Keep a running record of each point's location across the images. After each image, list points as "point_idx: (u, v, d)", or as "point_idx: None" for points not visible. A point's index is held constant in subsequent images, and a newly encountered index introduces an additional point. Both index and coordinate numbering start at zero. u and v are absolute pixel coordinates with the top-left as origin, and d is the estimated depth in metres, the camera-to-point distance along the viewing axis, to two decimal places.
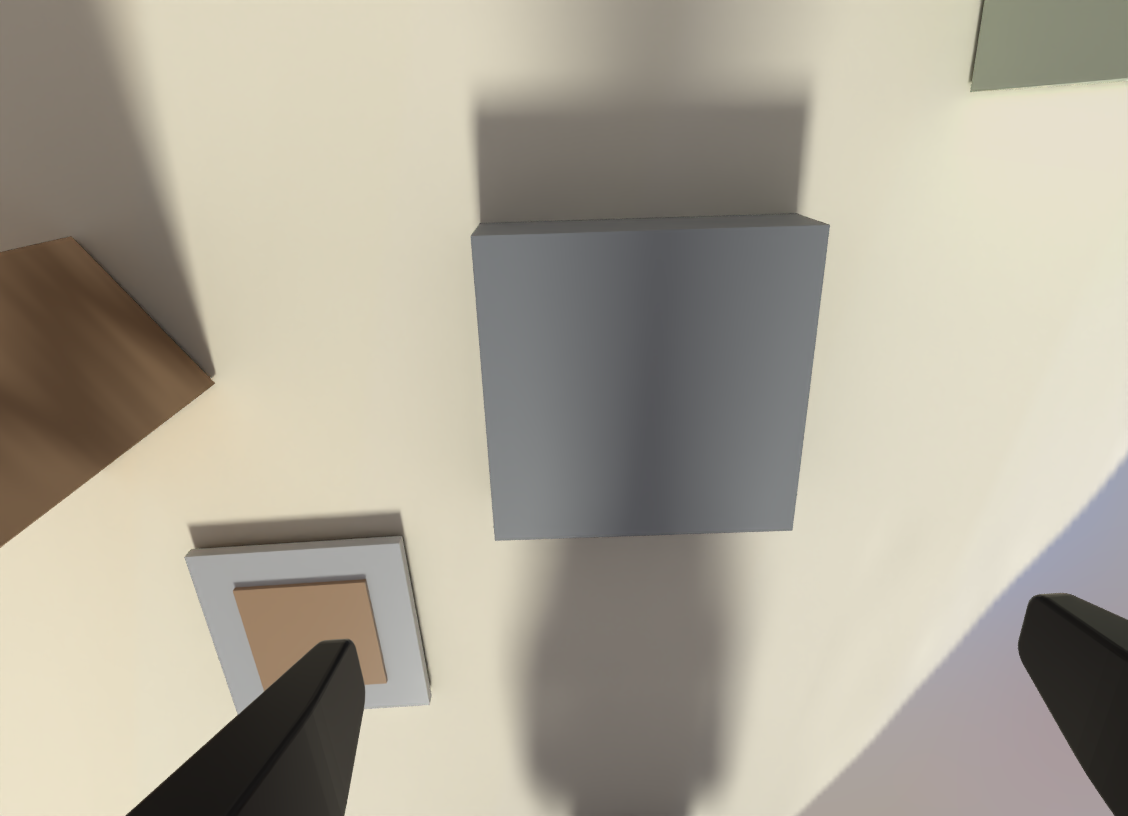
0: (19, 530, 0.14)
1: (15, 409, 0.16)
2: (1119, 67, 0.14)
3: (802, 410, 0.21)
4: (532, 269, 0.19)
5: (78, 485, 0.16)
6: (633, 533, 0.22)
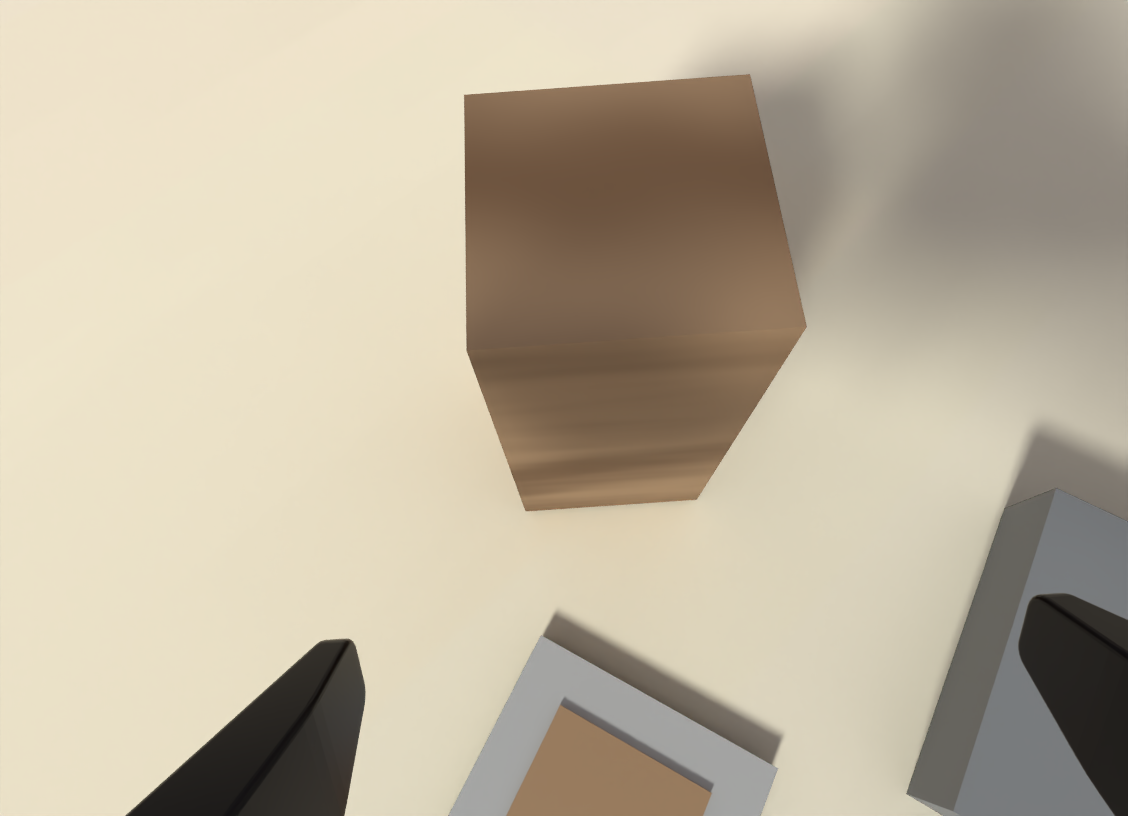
0: (759, 399, 0.15)
1: None
2: None
3: None
4: (1104, 542, 0.20)
5: (740, 429, 0.17)
6: None
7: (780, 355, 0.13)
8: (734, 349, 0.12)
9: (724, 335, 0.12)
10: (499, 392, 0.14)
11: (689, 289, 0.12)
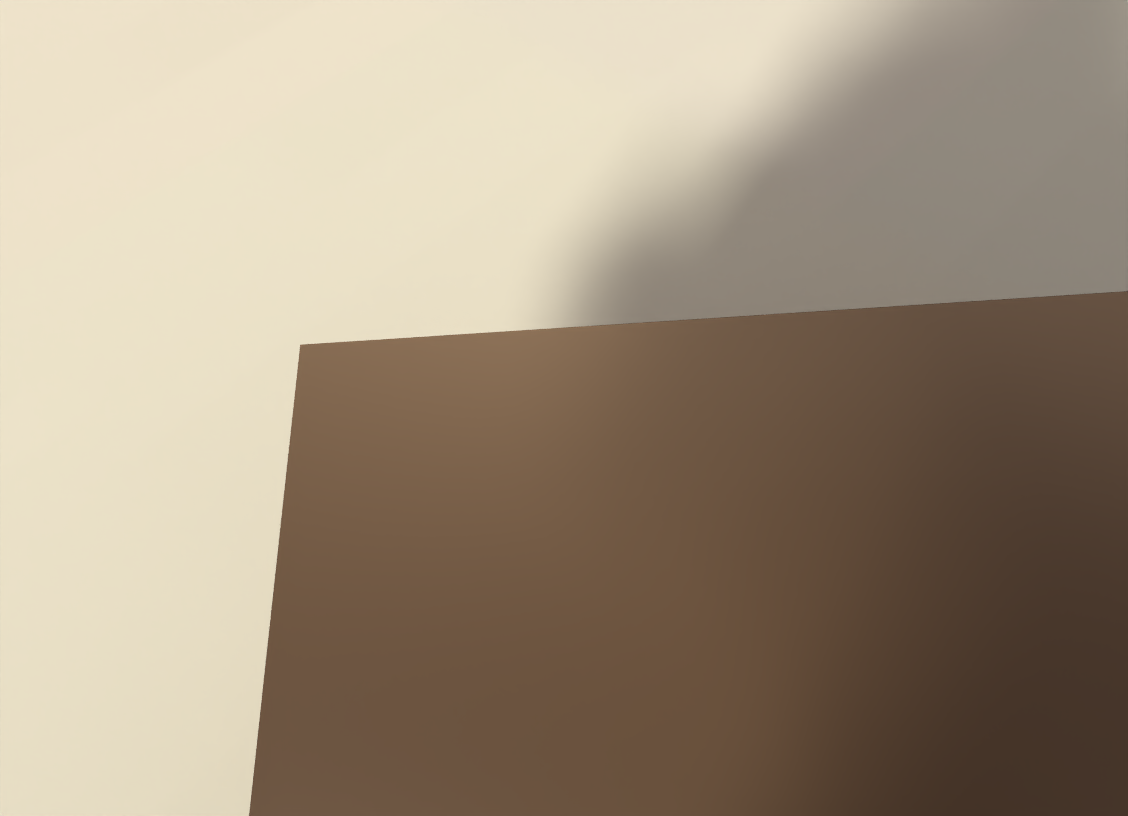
0: None
1: None
2: None
3: None
4: None
5: None
6: None
7: None
8: None
9: None
10: None
11: None
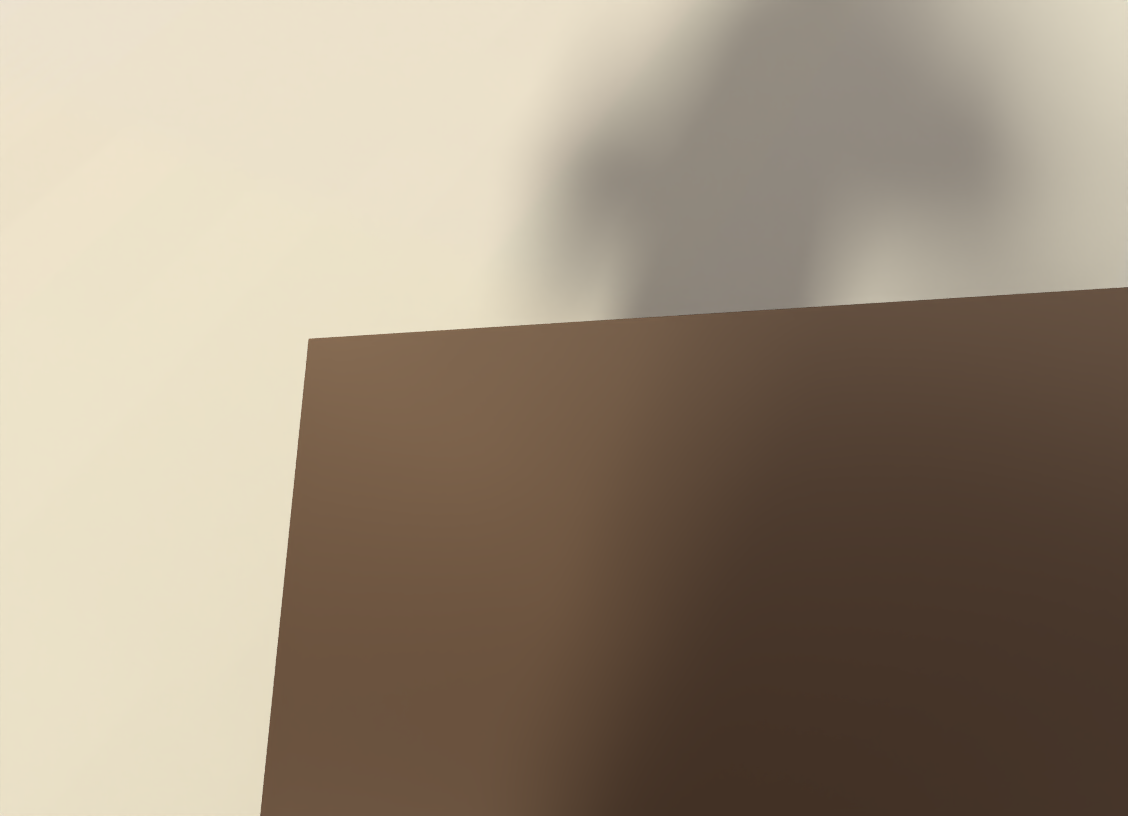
0: None
1: None
2: None
3: None
4: None
5: None
6: None
7: None
8: None
9: None
10: None
11: None
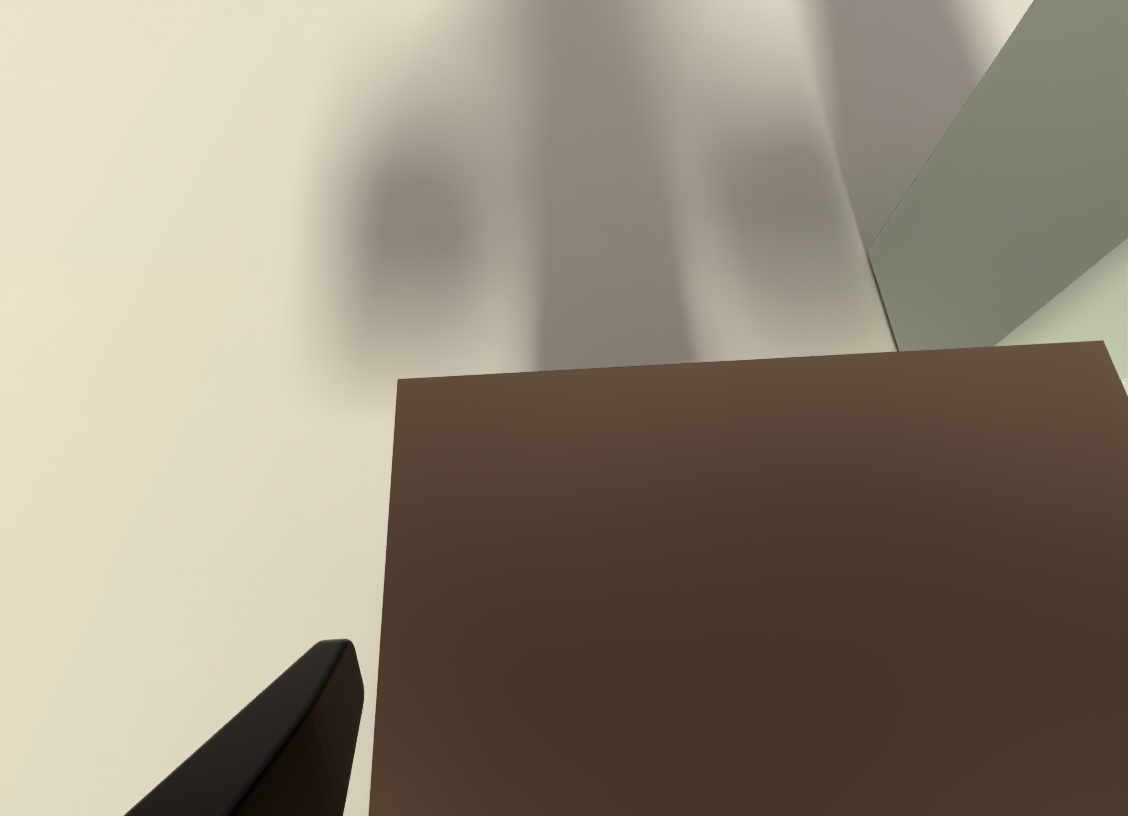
0: None
1: None
2: (1018, 314, 0.16)
3: None
4: None
5: None
6: None
7: None
8: None
9: None
10: None
11: None
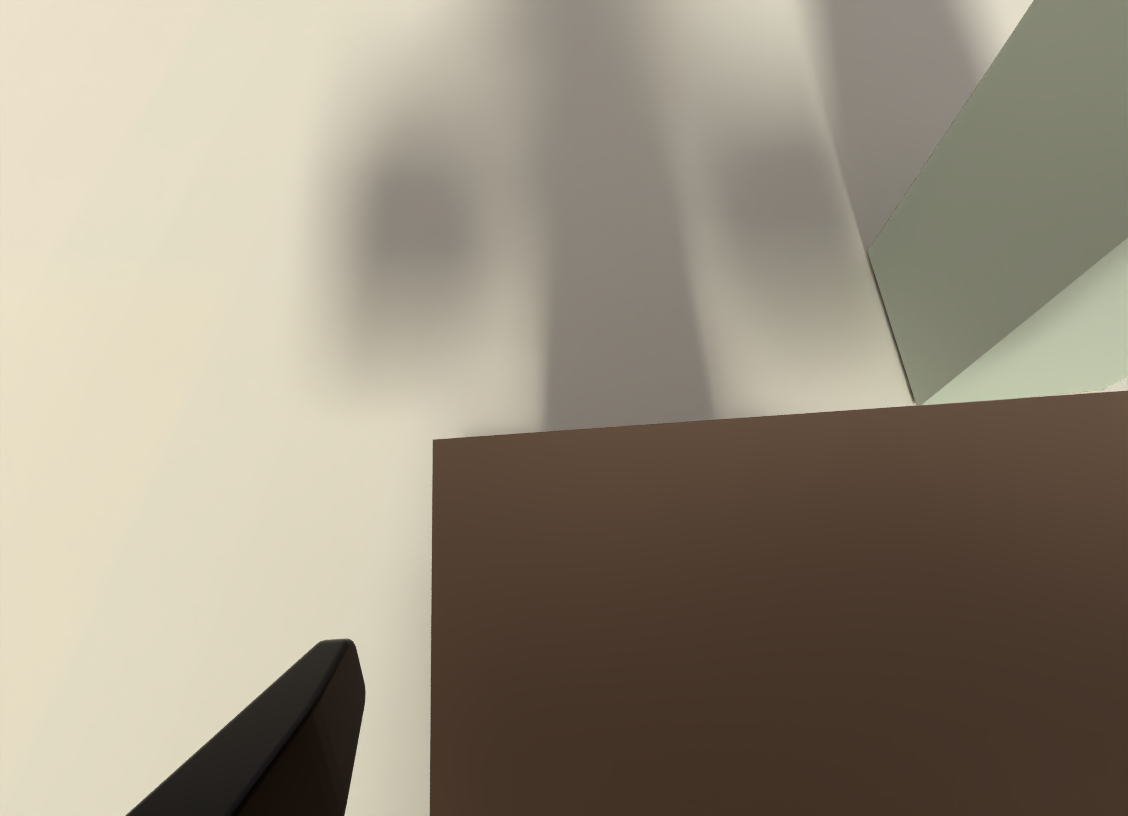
0: None
1: None
2: (1018, 314, 0.16)
3: None
4: None
5: None
6: None
7: None
8: None
9: None
10: None
11: None
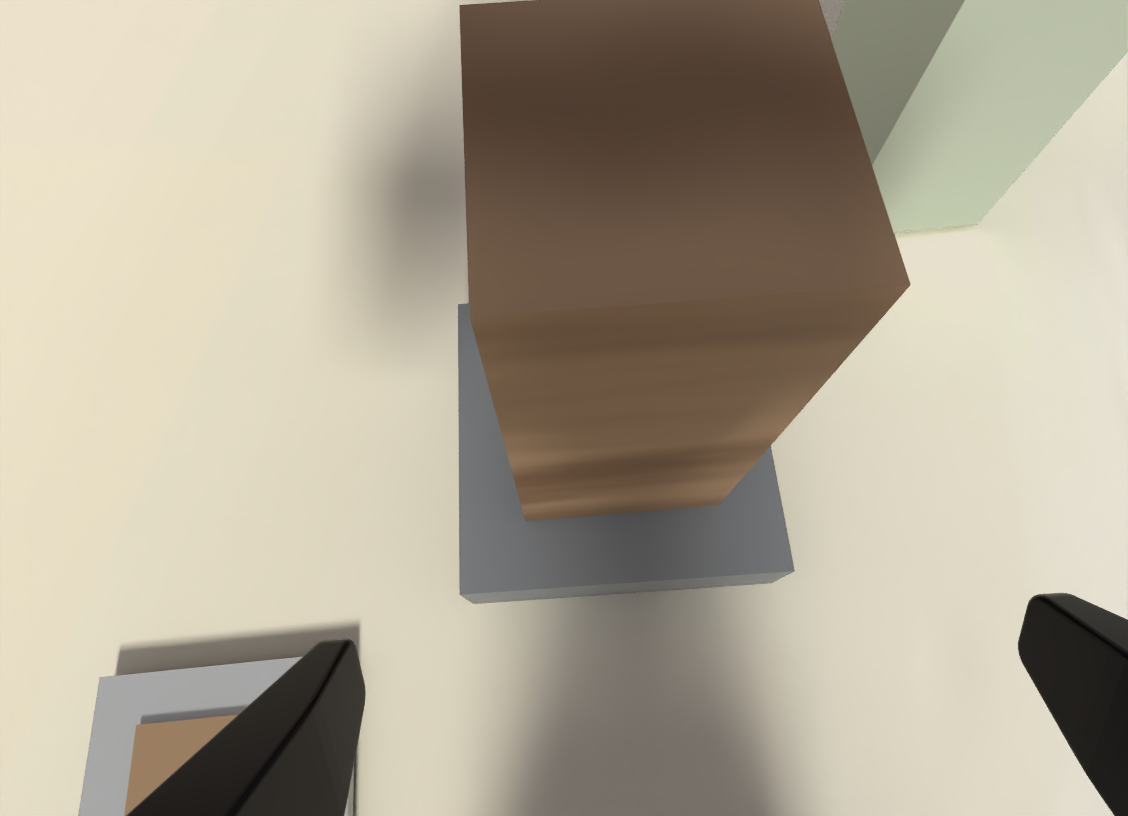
0: (821, 385, 0.12)
1: None
2: (885, 132, 0.22)
3: None
4: None
5: (788, 423, 0.14)
6: (614, 579, 0.20)
7: (865, 325, 0.10)
8: (812, 317, 0.10)
9: (804, 297, 0.09)
10: (507, 376, 0.11)
11: (756, 240, 0.09)
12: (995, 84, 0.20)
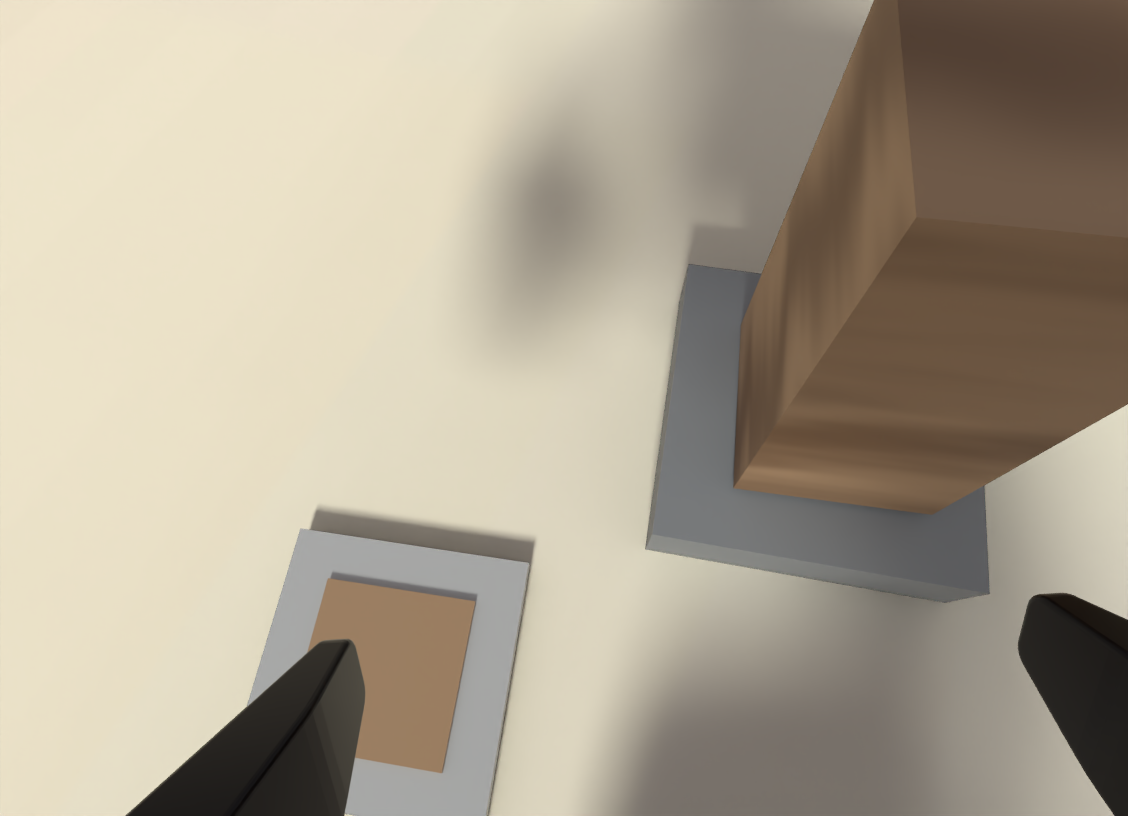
0: None
1: None
2: None
3: None
4: (733, 293, 0.24)
5: (1096, 420, 0.14)
6: (805, 557, 0.20)
7: None
8: None
9: None
10: (884, 297, 0.11)
11: None
12: None
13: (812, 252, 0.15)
